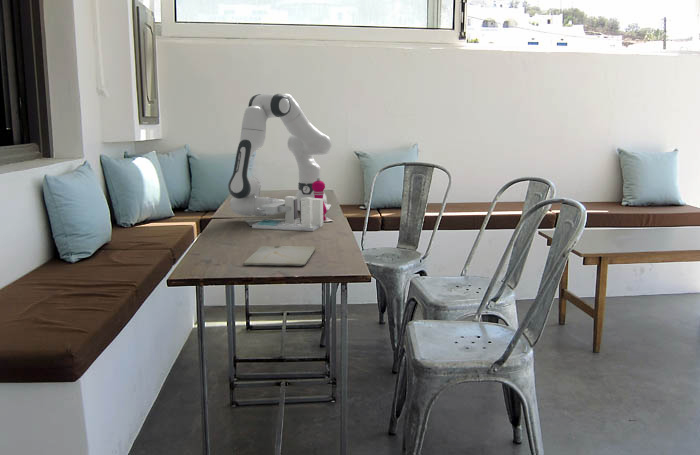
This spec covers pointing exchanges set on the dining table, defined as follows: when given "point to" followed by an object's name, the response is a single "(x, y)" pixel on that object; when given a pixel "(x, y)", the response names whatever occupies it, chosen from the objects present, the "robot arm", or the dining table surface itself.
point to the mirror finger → (318, 211)
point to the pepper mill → (319, 193)
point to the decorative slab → (280, 255)
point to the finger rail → (305, 224)
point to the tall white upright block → (293, 213)
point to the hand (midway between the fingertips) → (292, 207)
